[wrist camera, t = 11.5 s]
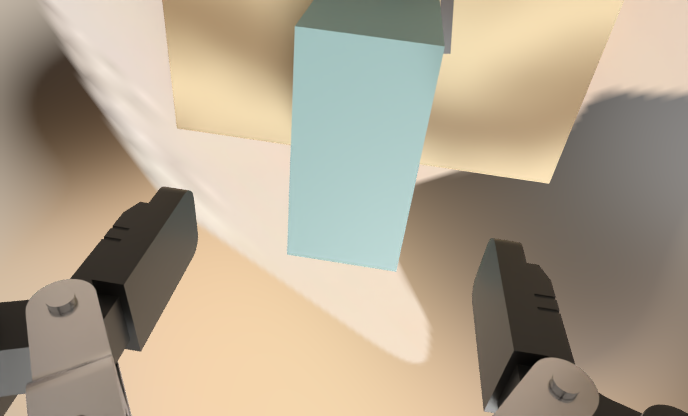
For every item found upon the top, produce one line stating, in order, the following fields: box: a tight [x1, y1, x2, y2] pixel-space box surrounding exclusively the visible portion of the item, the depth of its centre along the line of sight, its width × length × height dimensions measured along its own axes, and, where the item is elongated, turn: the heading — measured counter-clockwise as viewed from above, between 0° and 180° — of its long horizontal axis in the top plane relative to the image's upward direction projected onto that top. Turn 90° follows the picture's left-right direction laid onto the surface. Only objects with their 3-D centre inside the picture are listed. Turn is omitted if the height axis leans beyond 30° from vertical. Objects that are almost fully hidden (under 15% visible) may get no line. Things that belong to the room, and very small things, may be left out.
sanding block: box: [287, 0, 445, 272], centre depth 19 cm, size 9×4×6 cm, turn 175°
